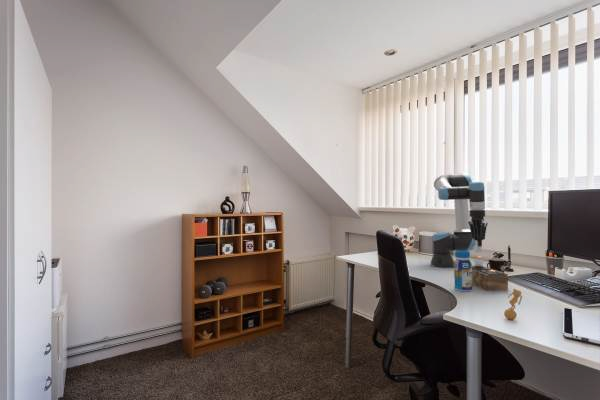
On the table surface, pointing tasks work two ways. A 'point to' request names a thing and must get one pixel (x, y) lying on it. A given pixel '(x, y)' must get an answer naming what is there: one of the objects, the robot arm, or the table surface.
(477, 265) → the back peg
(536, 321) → the table surface
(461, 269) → the beverage bottle
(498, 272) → the walnut block
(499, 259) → the coffee mug
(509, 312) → the figurine
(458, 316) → the table surface
